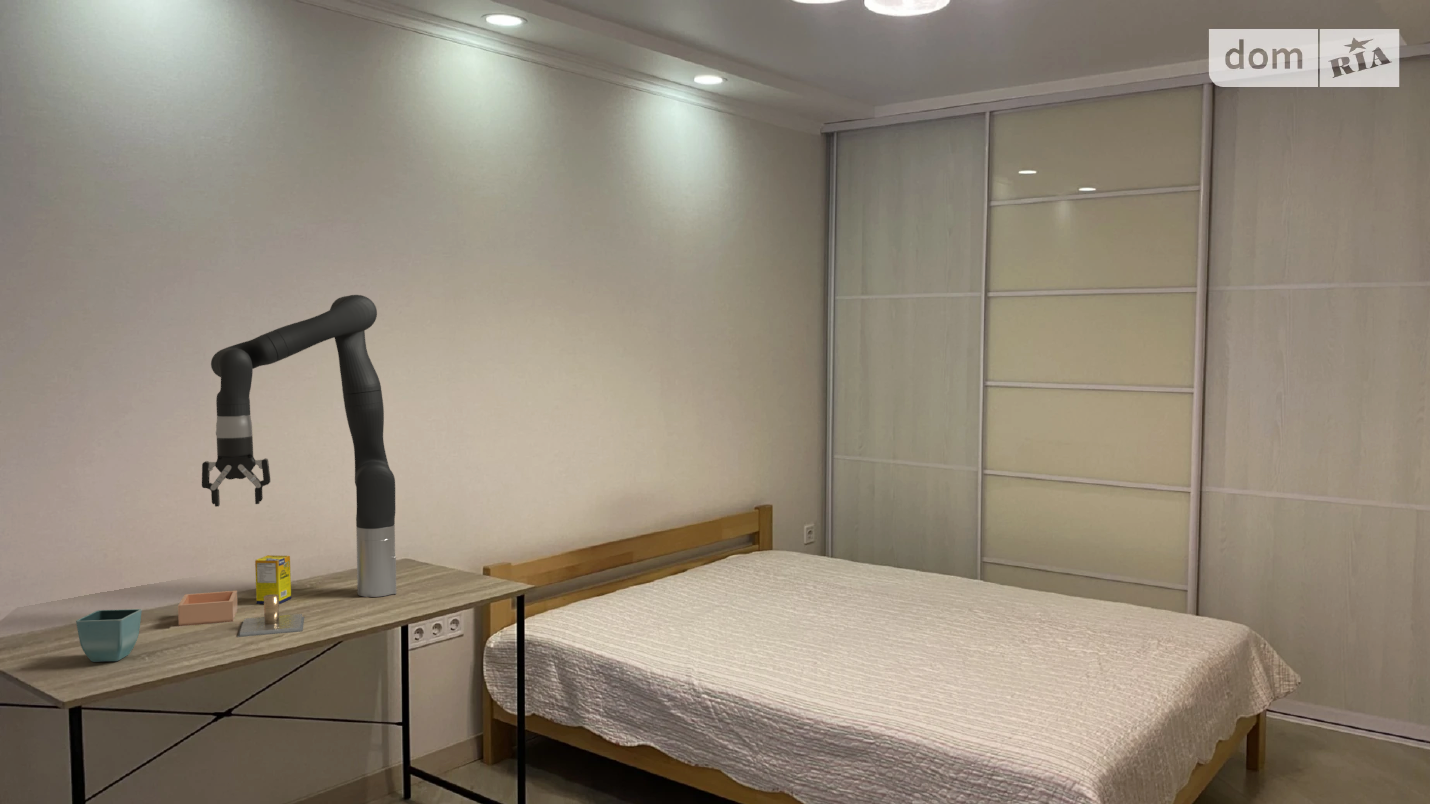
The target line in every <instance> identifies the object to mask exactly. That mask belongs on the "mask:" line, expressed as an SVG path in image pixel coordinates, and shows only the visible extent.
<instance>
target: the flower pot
mask: <svg viewBox="0 0 1430 804" xmlns="http://www.w3.org/2000/svg"><path fill="white" fill-rule="evenodd" d="M142 611H143V609H142V608H139V609H138V608H137V609H134V608H131V609H126V608H125V609H101V610H99V609H98V610H96V611H93V612H91V613H89V614H87V615H85V616H82V617H81V618H79V619H76V620H75V623H76V624H75V625H76V629H77V634H78V638H79V639H78V640H79V644H80V647H81V649H82V651H83V653H84V655H85V656H86V657H87V658H88V659H89V661H91V662H92V663H93V662H94V663H100V662H118V661H120V660H122V659H124V658H125V657H127V656H129V655H130V654H131V652H132V651H133V649H134V647H135V645H136V643H137V641H138V638H139V633H140V628H141V620H142Z"/></svg>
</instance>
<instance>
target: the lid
mask: <svg viewBox="0 0 1430 804" xmlns="http://www.w3.org/2000/svg"><path fill="white" fill-rule="evenodd" d="M263 610H264V611H263V613H264V615H263V616H260V617H247V618H244V620H243V621H242V622H243V625H242V628H241V630H240V629H239V630H240V636H245V637H248V636H247V635H256V636H259V635H258V634H268V635H271V634H270V633H279V634H282V633H281V632H290V633H293V632H292V631H300V628H301V621H302V617H303V614H302V613H296V614H295V613H294V614H284V615H280V604H279V595H275V594H273V595H266V596H264V604H263Z"/></svg>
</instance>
